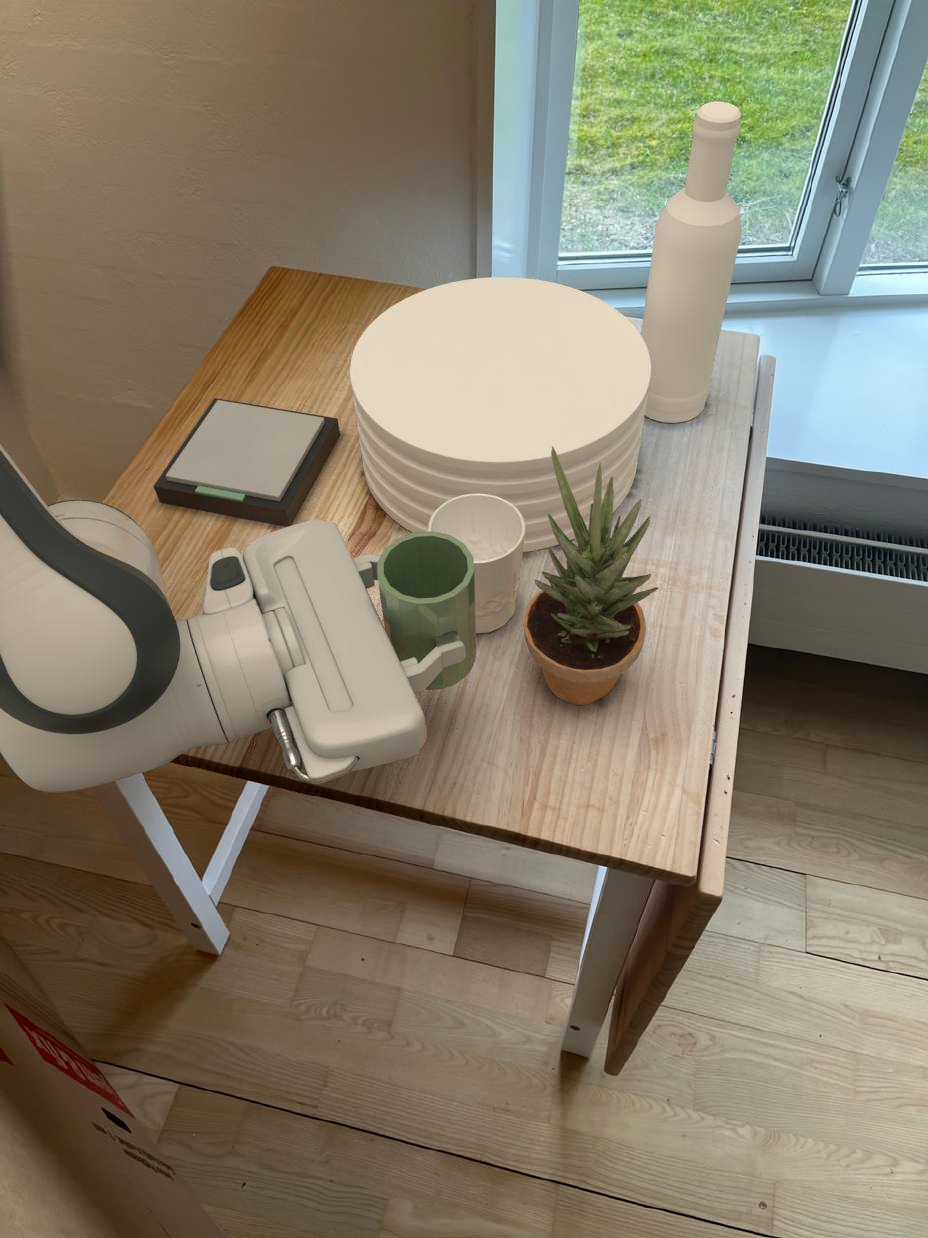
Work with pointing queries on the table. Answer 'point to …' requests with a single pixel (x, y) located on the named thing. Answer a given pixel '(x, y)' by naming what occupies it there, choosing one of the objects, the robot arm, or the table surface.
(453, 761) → the table surface
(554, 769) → the table surface
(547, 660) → the potted plant
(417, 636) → the tumbler
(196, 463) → the scale
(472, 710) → the table surface
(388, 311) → the plate stack
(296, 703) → the robot arm
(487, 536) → the white cup
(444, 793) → the table surface
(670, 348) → the bottle
